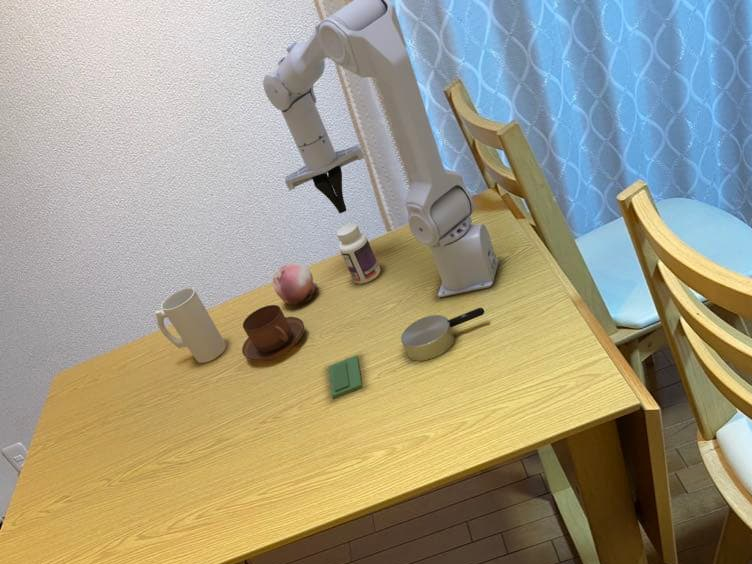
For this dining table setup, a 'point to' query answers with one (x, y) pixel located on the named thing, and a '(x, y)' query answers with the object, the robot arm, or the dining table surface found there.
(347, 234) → the pill bottle
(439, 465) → the dining table surface
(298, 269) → the onion
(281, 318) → the cup and saucer
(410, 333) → the pan
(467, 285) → the robot arm
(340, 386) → the green light switch
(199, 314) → the mug
